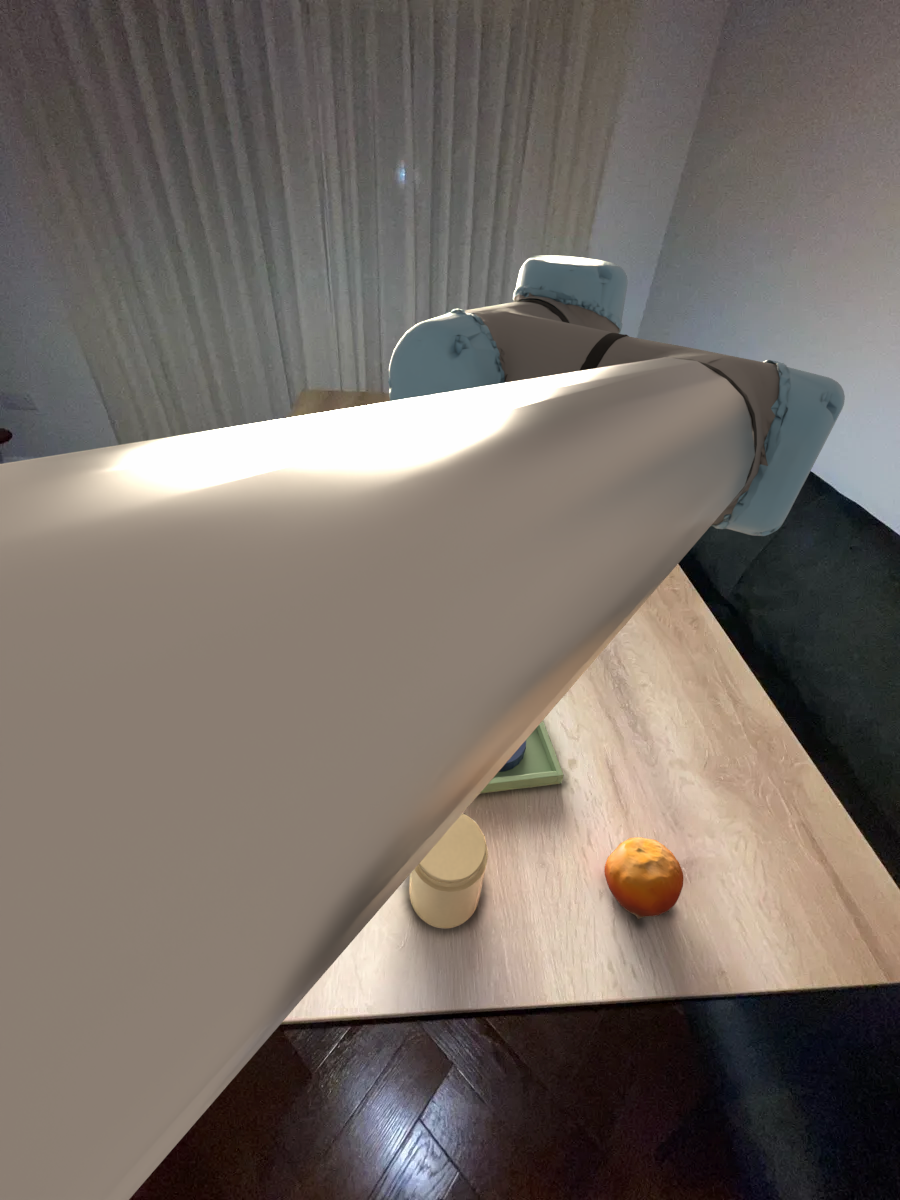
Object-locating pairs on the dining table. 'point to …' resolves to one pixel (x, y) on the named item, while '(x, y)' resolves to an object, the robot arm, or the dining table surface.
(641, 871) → the fruit
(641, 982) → the dining table surface
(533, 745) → the tray
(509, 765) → the lid
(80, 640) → the robot arm
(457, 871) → the jar
